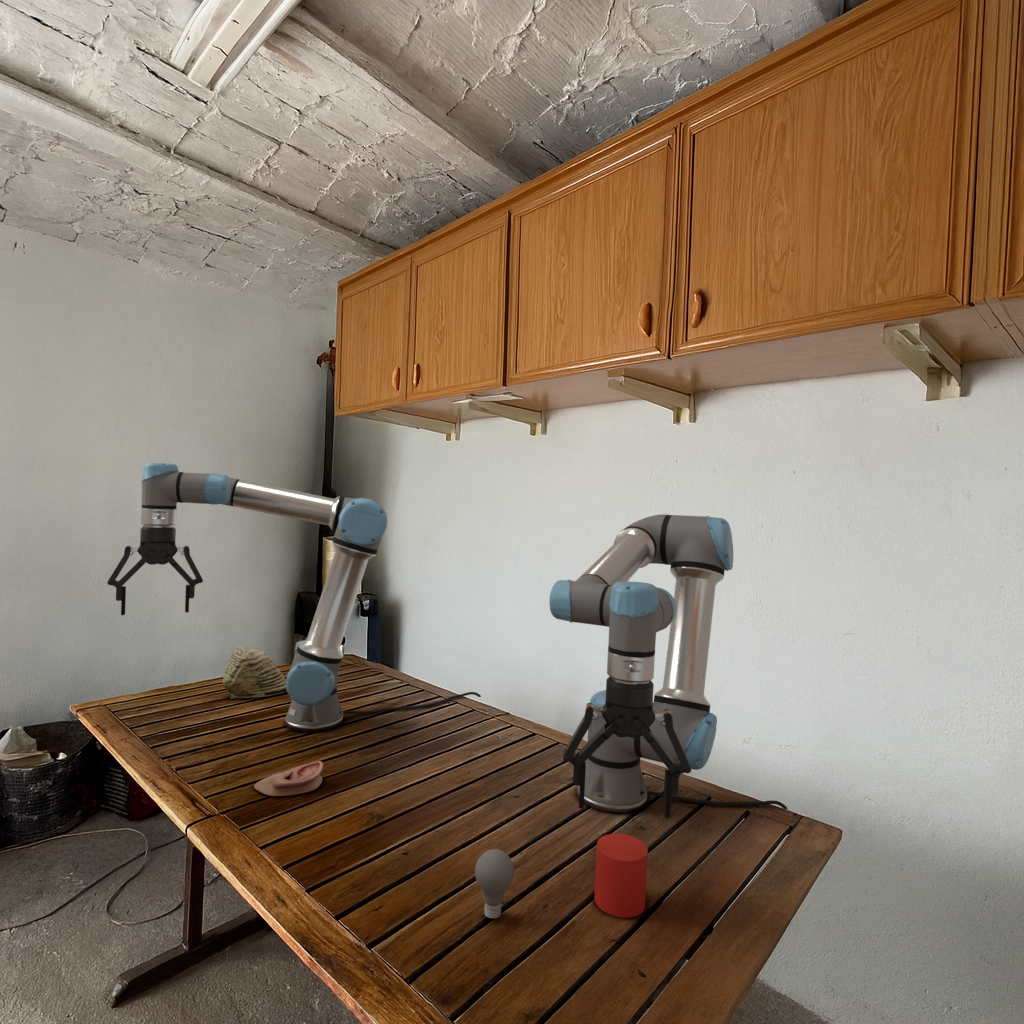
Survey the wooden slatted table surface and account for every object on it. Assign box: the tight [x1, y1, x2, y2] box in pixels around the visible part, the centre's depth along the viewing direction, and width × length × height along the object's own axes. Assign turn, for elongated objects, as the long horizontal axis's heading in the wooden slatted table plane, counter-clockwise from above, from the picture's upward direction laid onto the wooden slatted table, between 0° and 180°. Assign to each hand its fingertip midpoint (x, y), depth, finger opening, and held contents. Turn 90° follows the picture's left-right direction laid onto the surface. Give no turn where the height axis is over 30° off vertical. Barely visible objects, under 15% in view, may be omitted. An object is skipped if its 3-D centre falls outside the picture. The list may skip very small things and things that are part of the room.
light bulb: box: [474, 848, 515, 919], centre depth 98 cm, size 6×6×10 cm
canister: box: [594, 833, 649, 919], centre depth 103 cm, size 8×8×9 cm
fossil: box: [222, 646, 287, 699], centre depth 198 cm, size 9×18×15 cm, turn 132°
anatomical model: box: [253, 760, 324, 797], centre depth 138 cm, size 13×4×12 cm
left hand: (155, 613), depth 155 cm, fingers open, 13 cm apart
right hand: (623, 809), depth 102 cm, fingers open, 13 cm apart
